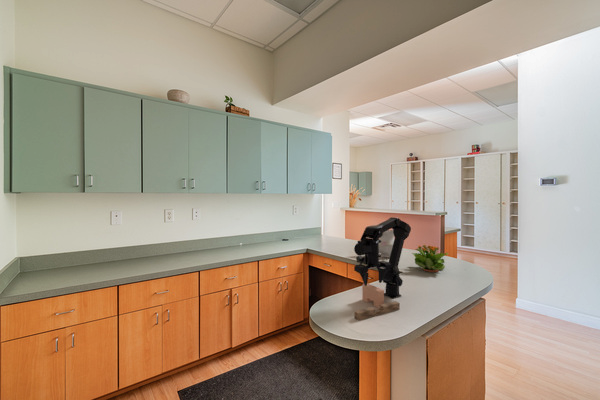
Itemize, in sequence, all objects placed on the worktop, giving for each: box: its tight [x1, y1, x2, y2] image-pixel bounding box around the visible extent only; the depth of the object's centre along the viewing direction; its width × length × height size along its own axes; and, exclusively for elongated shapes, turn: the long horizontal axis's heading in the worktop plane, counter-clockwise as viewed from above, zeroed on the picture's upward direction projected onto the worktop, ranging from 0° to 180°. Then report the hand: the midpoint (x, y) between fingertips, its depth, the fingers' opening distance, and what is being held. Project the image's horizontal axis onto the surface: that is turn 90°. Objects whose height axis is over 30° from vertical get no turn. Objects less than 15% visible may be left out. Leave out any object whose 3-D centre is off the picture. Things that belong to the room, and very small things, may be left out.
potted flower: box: [412, 244, 449, 273], centre depth 189 cm, size 25×24×18 cm
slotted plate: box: [361, 282, 385, 309], centre depth 134 cm, size 3×12×8 cm, turn 27°
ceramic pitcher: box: [379, 229, 395, 258], centre depth 234 cm, size 22×20×25 cm
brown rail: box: [353, 300, 400, 321], centre depth 122 cm, size 24×2×3 cm, turn 117°
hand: (372, 284), depth 134 cm, fingers open, 9 cm apart
